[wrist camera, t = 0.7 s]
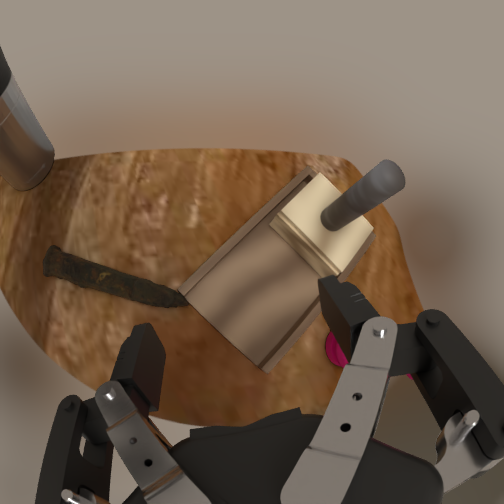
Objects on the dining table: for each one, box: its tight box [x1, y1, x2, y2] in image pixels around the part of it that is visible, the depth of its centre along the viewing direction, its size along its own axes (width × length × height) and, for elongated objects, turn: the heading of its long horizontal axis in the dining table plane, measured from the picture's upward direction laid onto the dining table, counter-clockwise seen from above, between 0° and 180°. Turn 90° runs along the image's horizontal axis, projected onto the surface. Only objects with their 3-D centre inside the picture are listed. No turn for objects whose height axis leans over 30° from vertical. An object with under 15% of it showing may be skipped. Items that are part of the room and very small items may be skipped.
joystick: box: [269, 160, 405, 278], centre depth 29 cm, size 10×8×17 cm
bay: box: [177, 166, 376, 374], centre depth 35 cm, size 14×24×3 cm, turn 137°
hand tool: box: [43, 245, 189, 308], centre depth 29 cm, size 19×4×5 cm, turn 75°
